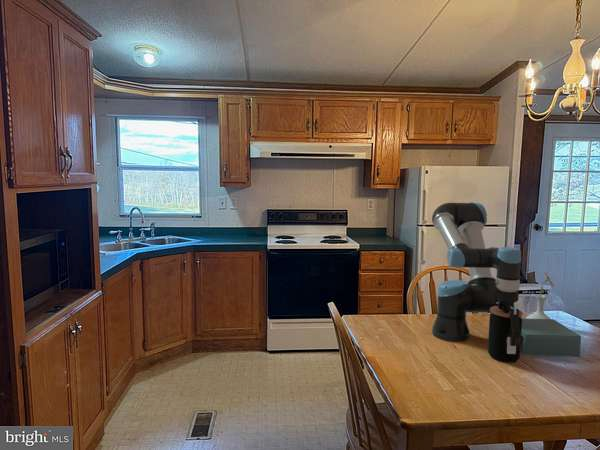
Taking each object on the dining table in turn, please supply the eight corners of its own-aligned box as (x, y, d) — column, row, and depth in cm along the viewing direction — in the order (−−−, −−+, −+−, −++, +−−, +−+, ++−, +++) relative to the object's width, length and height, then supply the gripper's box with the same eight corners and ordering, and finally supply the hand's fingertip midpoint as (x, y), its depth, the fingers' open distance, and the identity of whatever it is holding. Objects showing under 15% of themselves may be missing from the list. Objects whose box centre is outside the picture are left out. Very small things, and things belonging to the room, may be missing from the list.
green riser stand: (524, 354, 145) (525, 334, 144) (503, 336, 163) (504, 318, 162) (579, 356, 143) (581, 335, 143) (551, 337, 161) (553, 319, 160)
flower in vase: (549, 331, 167) (553, 276, 165) (521, 324, 176) (524, 271, 173) (558, 324, 176) (562, 271, 173) (531, 318, 185) (534, 267, 182)
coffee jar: (507, 365, 136) (510, 317, 134) (481, 354, 145) (483, 308, 143) (526, 359, 141) (529, 312, 139) (499, 348, 150) (501, 304, 148)
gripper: (484, 281, 152) (481, 334, 154) (511, 298, 129) (507, 360, 131) (503, 281, 151) (500, 334, 154) (534, 299, 128) (530, 361, 131)
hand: (503, 346), depth 142 cm, fingers closed on coffee jar, 11 cm apart
